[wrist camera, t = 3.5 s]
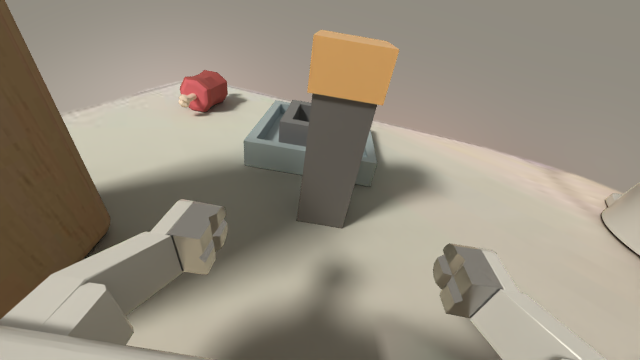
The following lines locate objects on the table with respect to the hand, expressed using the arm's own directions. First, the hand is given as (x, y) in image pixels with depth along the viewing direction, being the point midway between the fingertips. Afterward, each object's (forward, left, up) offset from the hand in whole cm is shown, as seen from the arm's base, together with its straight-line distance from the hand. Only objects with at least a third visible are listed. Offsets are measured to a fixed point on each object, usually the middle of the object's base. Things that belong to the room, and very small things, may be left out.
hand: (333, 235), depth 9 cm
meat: (+20, -31, -9) cm, 38 cm away
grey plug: (0, -11, -8) cm, 14 cm away
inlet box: (+2, -23, -8) cm, 25 cm away
